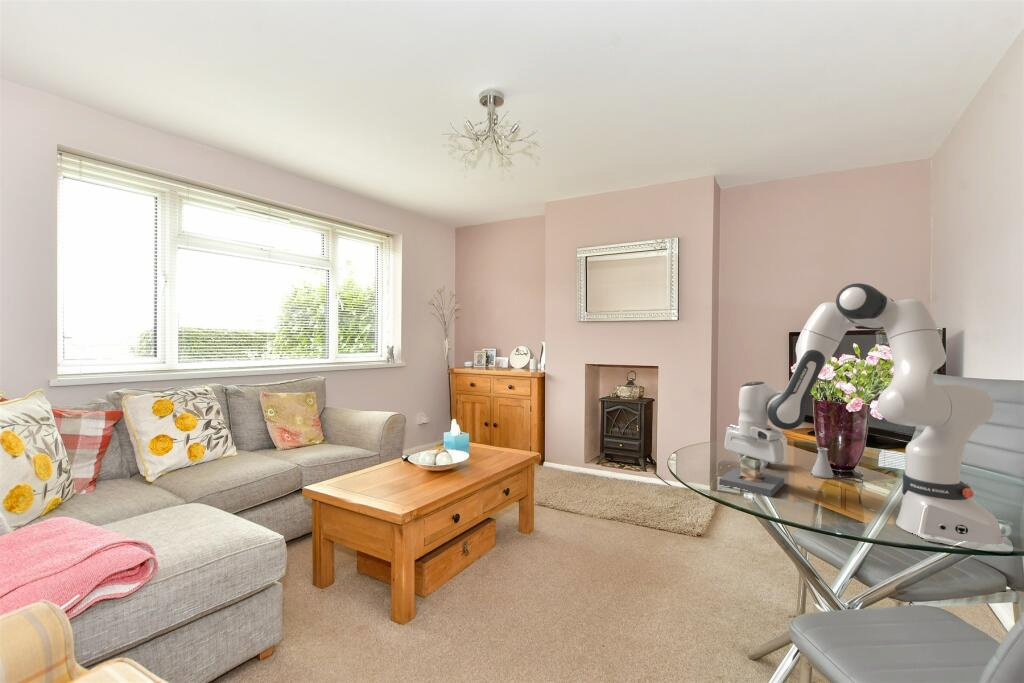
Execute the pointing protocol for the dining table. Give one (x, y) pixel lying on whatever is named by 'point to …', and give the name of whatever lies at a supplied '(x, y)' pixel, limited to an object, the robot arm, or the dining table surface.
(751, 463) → the faceted block
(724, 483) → the pocket plate
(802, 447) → the dining table surface
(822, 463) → the flask
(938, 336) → the robot arm
